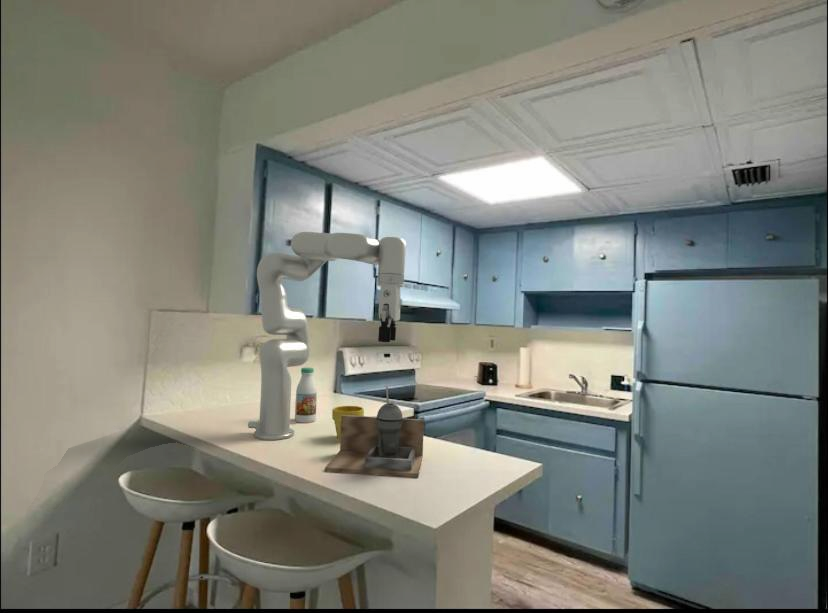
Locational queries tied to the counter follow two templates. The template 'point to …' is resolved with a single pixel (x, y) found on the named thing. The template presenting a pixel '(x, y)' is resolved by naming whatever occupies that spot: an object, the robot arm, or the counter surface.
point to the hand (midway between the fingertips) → (387, 341)
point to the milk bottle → (306, 397)
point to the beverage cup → (389, 429)
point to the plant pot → (344, 410)
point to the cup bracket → (377, 448)
